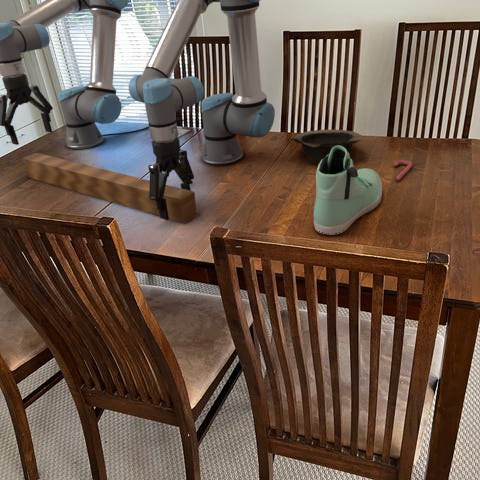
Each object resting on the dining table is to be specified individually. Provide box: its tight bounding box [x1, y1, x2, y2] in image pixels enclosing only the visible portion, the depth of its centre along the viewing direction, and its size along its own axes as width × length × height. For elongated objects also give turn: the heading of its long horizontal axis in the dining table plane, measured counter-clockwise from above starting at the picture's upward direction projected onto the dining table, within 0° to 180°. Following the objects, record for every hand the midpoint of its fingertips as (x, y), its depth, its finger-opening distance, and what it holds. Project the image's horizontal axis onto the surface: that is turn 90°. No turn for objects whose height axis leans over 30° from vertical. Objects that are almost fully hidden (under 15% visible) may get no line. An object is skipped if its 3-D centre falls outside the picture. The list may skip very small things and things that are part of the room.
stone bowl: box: [292, 129, 365, 164], centre depth 172 cm, size 25×25×9 cm
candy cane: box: [393, 159, 413, 182], centre depth 157 cm, size 6×15×2 cm, turn 145°
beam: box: [22, 152, 198, 224], centre depth 157 cm, size 75×6×8 cm, turn 56°
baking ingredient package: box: [177, 128, 191, 138], centre depth 205 cm, size 9×1×15 cm
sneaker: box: [313, 146, 383, 236], centre depth 133 cm, size 14×35×20 cm, turn 152°
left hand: (32, 137), depth 168 cm, fingers open, 13 cm apart
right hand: (176, 210), depth 143 cm, fingers open, 10 cm apart
